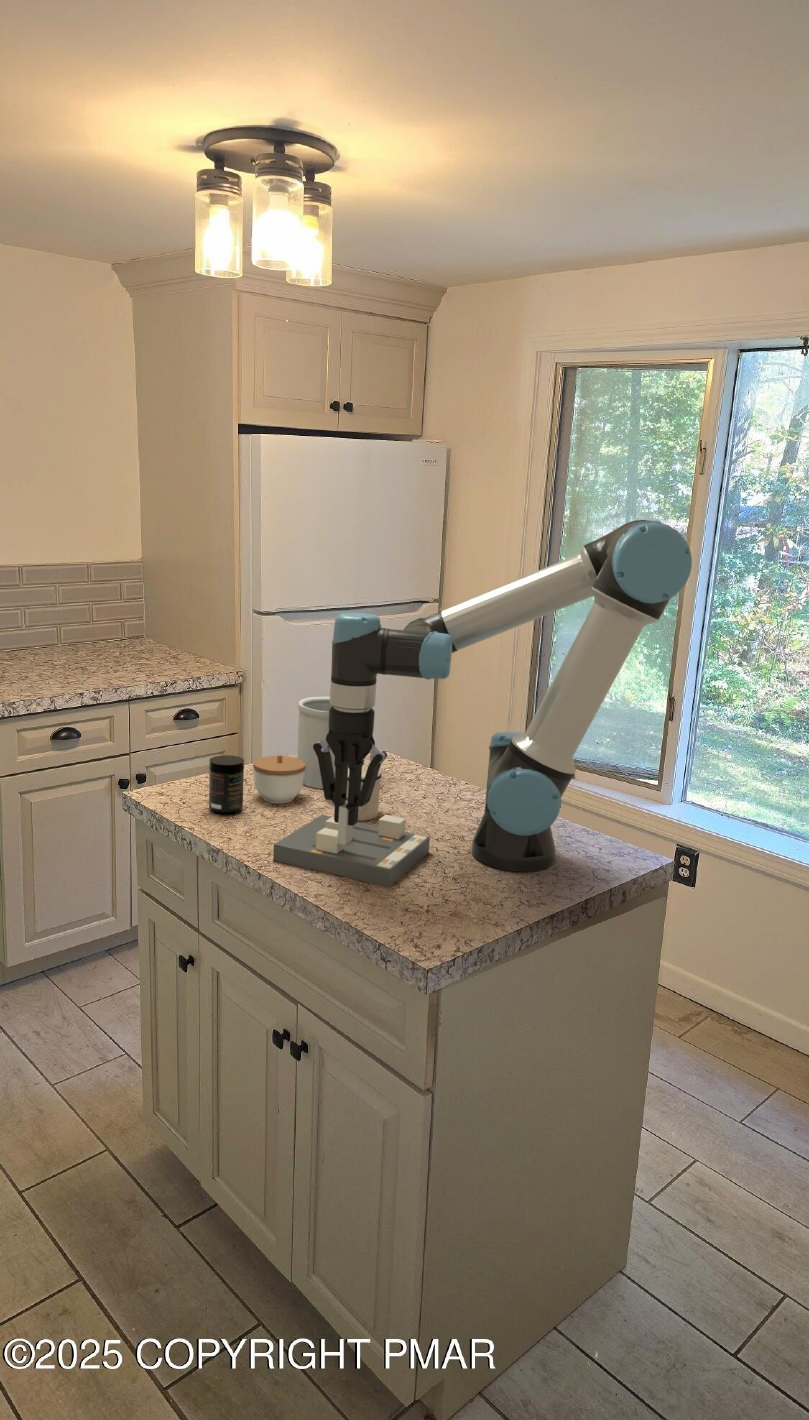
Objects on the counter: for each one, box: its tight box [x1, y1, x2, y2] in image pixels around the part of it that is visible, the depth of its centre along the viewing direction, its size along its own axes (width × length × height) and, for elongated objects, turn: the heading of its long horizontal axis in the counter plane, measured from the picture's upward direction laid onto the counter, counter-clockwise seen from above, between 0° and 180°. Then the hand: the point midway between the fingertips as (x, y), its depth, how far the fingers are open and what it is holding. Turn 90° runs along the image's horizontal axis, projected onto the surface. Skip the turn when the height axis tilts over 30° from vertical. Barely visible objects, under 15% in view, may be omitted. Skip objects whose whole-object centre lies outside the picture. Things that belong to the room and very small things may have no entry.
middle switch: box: [325, 815, 353, 833], centre depth 174 cm, size 4×3×3 cm
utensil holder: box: [296, 696, 336, 790], centre depth 214 cm, size 15×15×18 cm
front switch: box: [316, 828, 345, 854], centre depth 168 cm, size 4×3×3 cm
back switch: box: [378, 814, 407, 839], centre depth 176 cm, size 4×3×3 cm
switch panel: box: [272, 814, 431, 888], centre depth 173 cm, size 22×18×3 cm
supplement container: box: [208, 754, 245, 816], centre depth 192 cm, size 7×7×10 cm
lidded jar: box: [252, 754, 306, 805], centre depth 201 cm, size 11×11×9 cm
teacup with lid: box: [323, 759, 382, 822], centre depth 193 cm, size 12×9×12 cm
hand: (344, 841), depth 166 cm, fingers closed
